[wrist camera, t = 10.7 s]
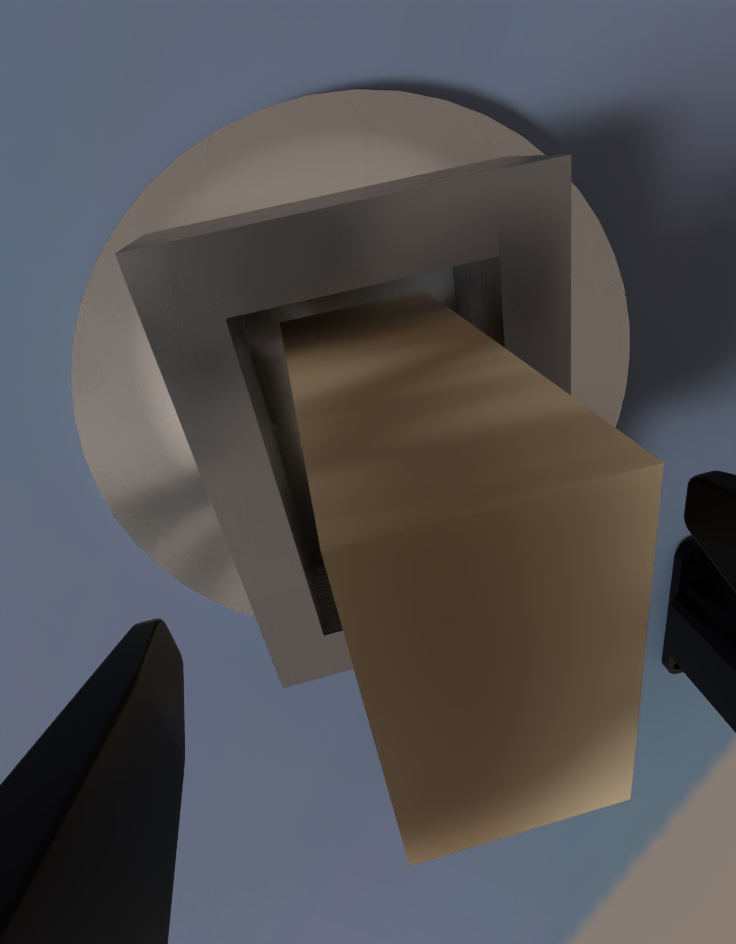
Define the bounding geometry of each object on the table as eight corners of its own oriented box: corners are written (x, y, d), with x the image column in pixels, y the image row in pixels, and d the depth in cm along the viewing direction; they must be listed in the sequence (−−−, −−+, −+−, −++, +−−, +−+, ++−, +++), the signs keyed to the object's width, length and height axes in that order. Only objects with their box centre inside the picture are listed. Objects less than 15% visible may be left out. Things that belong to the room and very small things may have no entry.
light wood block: (423, 289, 13) (663, 461, 6) (449, 497, 16) (630, 799, 9) (279, 322, 13) (320, 551, 5) (333, 528, 16) (409, 866, 8)
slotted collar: (626, 33, 12) (762, -15, 9) (605, 547, 20) (676, 624, 16) (-43, 169, 11) (-163, 172, 8) (194, 657, 19) (182, 763, 15)
